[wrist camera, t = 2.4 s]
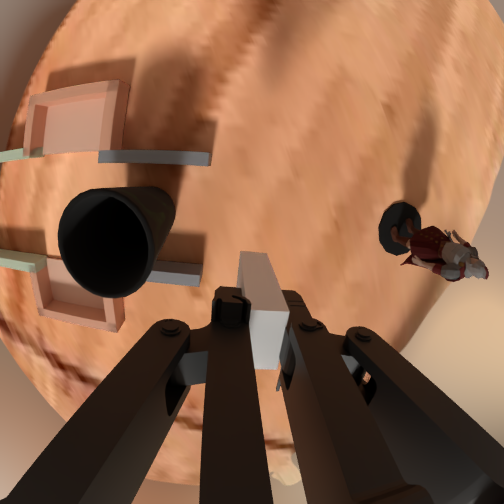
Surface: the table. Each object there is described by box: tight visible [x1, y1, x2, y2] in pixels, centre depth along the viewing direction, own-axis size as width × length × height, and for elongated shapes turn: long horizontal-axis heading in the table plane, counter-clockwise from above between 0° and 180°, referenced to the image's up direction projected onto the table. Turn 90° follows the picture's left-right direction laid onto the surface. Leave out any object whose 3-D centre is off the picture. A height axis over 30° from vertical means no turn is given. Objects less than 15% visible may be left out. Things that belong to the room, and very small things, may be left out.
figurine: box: [378, 202, 489, 282], centre depth 23 cm, size 7×7×15 cm
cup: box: [58, 186, 175, 299], centre depth 22 cm, size 8×8×12 cm
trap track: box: [0, 79, 212, 333], centre depth 24 cm, size 33×28×4 cm
